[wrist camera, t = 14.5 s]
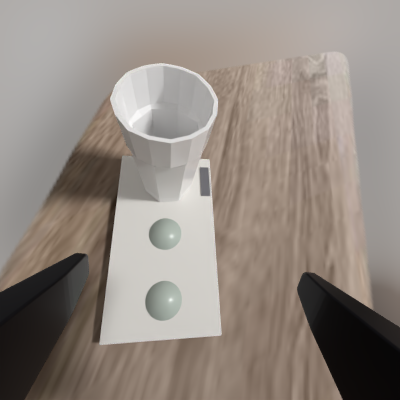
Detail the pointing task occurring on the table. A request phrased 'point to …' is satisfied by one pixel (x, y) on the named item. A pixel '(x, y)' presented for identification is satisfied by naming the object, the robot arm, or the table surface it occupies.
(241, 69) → the table surface
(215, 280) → the indicator panel
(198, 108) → the cup
